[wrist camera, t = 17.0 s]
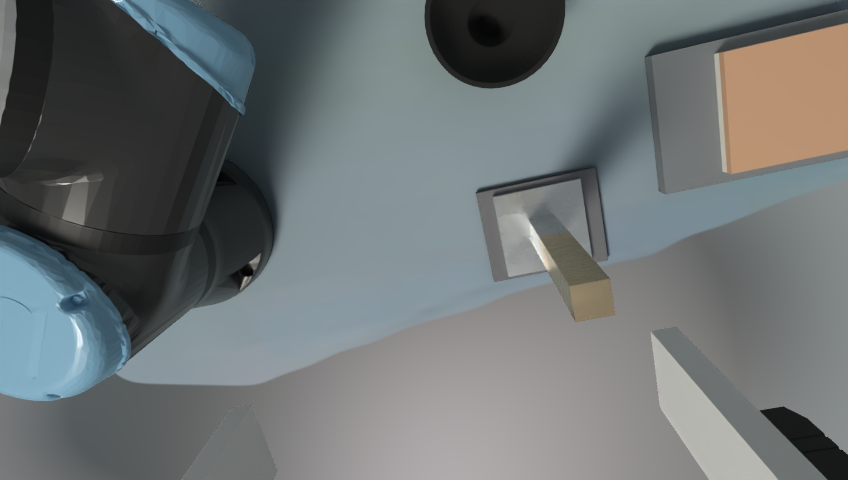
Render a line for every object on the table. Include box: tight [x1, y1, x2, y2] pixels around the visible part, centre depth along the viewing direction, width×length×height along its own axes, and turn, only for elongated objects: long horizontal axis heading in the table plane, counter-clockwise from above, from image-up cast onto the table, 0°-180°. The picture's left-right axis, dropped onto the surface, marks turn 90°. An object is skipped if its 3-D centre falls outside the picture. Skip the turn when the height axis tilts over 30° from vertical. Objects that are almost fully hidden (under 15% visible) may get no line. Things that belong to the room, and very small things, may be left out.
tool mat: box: [476, 167, 608, 282], centre depth 47 cm, size 11×9×1 cm
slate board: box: [645, 9, 848, 194], centre depth 43 cm, size 16×12×2 cm
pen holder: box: [425, 0, 565, 88], centre depth 38 cm, size 9×9×10 cm
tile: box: [714, 23, 848, 174], centre depth 41 cm, size 2×10×10 cm
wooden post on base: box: [493, 178, 615, 322], centre depth 38 cm, size 8×8×18 cm
